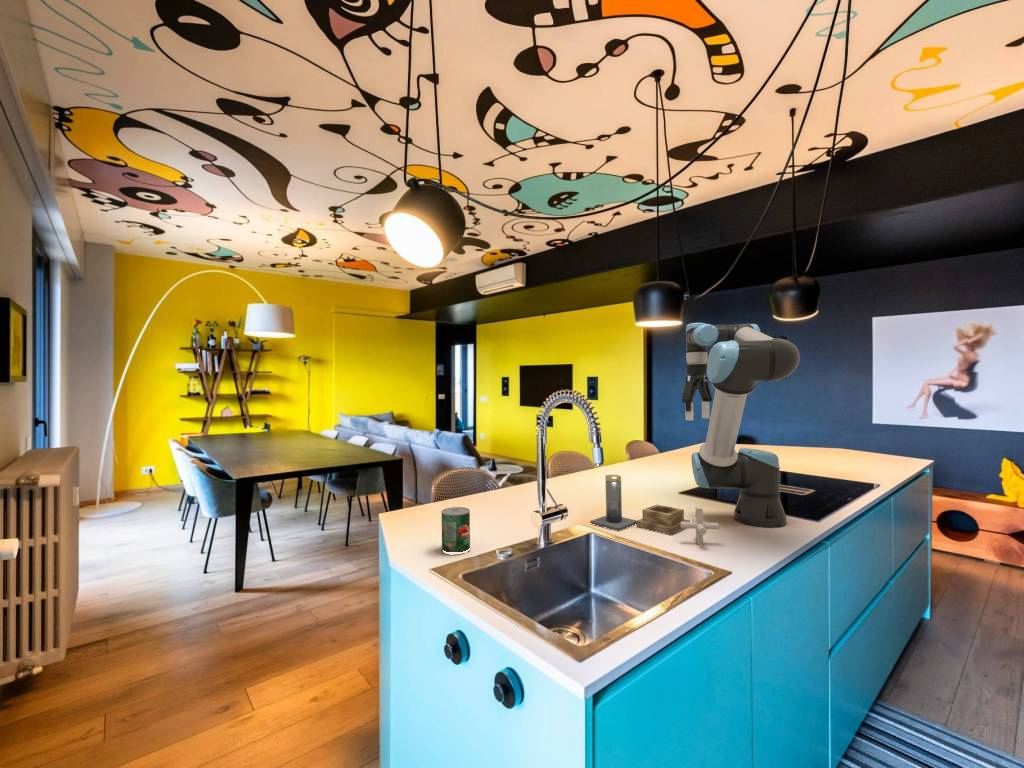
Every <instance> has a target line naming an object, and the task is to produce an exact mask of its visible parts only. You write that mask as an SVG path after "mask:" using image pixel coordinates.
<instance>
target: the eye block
mask: <svg viewBox="0 0 1024 768" xmlns="http://www.w3.org/2000/svg"><path fill="white" fill-rule="evenodd" d="M641 512H642V518H640V519H638V520H637V521H636V525H635V526H637V527H636V528H638V527H641V528H640V529H642V528H645V529H644V530H646V529H649V530H648V531H651V530H653V531H652V532H655V531H657V532H656V533H659V532H660V533H659V534H663V533H665V534H664V535H667V534H668V536H671V535H672V536H674V535H677V534H678V533H681V532H683V531H685V530H687V529H686V528H681V526H680V522H691V520H690V519H685V509H682V508H678V507H672V506H667V505H662V504H655V505H652V506H649V507H647V508H646V507H645V508H643V509H642V511H641ZM684 529H685V530H684ZM682 530H683V531H682ZM673 534H674V535H673Z"/></svg>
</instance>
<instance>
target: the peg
mask: <svg viewBox="0 0 1024 768" xmlns="http://www.w3.org/2000/svg"><path fill="white" fill-rule="evenodd" d="M604 479H605V514H606V515H605V516H606V521H607V522H610V523H620V522H622V517H623V510H622V507H623V502H622V501H623V499H622V498H623V497H622V476H621V475H619V474H606V475H605V477H604Z"/></svg>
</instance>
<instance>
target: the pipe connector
mask: <svg viewBox="0 0 1024 768" xmlns="http://www.w3.org/2000/svg"><path fill="white" fill-rule="evenodd" d="M703 509H704V508H703V507H695V517H694V518H693V519H692V521H690V522H680V526H681V528H687V529H695V544H696V545H701V544H702V545H704V535H706V534H707V530H715V531H717V530H720V526H719V523H718V522H704V520H703V519H704V516H703V515H704V514H703V511H704V510H703Z"/></svg>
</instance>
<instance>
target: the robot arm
mask: <svg viewBox="0 0 1024 768" xmlns="http://www.w3.org/2000/svg"><path fill="white" fill-rule="evenodd" d="M685 345H686V347H685V348H686V349H685V351H686V352H685V353H686V355H685V358H686V363H687V365H686V374H687V375H690V376H685V383H684V389H683V393H682V398H681V401H682V403H684V404H685V407H684V408H685V409H684V410H685V411H684V412H685V413H684V414H685V421H694V402H693V399H694V398H695V394H696V392H697V390H698V392H699V395H700V397H701V400H702V401H701V419H709V423H708V430H707V433H706V439H705V442H704V443H703V444H701V445H700V446H699V448H698V449H699V450H698V451H695V452H692V454H691V467H692V473H693V478H694V483H695V485H697V486H698V487H699V488H703V489H739V496H738V499H737V501H736V505H735V509H734V511H733V516H734V517H733V518H734V520H736V521H737V522H738V523H742V524H745V525H750V526H755V527H761V528H762V527H765V528H778V526H780V527H783V525H784V526H786V525H787V515H786V513H785V510H784V507H783V503H782V502H781V499H780V498H781V497H780V495H781V494H780V489H781V488H780V469H781V467H780V462H779V461H780V460H779V459H780V458H779V456H778V455H777V454H776V453H773V452H770V451H766V450H761V449H754V448H746V447H740V448H739V449H738V452H737V451H736V449H735V448H736V444H737V439H738V435H739V431H740V427H741V426H740V425H741V422H742V418H743V413H744V410H745V406H746V405H745V404H746V402H747V396H748V395H749V394H751V393H753V391H754V390H755V388H756V384H757V383H761V382H762V383H766V382H769V383H770V382H777V381H780V380H784V379H785V378H787V377H789V376H790V375H792V373H794V372H795V371H796V369H797V368H798V367H799V364H800V360H801V355H800V351H799V349H798V347H797V346H796V345H795V344H794V343H792V341H789V340H787V339H785V338H781V337H776V338H773V337H771V336H770V335H767V334H765V333H763V332H761V329H760V326H759V325H758V324H756V323H741V324H740V323H738V324H736V323H735V324H710V323H704V322H691V323H688V324H686V326H685ZM708 347H712V348H711V349H710V351H709V353H708ZM705 375H706V376H705ZM709 382H711V385H712V387H713V389H715V391H714V395H713V396H714V397H713V396H712V393H711V387H710V383H709ZM712 401H713V402H712ZM710 402H712V406H711V413H710ZM785 524H786V525H785Z"/></svg>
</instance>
